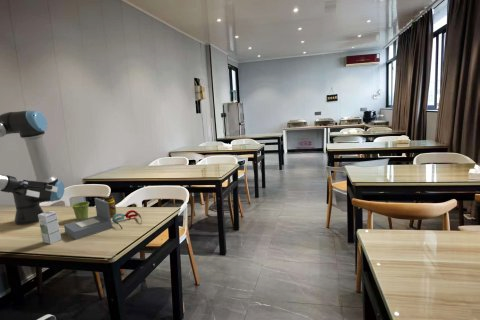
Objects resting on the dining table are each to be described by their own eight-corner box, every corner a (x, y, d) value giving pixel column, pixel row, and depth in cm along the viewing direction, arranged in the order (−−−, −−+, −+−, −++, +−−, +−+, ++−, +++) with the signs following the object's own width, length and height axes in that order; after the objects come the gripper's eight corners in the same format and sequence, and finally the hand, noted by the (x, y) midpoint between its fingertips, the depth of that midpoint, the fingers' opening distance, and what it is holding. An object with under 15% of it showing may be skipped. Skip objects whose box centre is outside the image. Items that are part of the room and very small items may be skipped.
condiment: (118, 216, 181) (115, 196, 179) (103, 220, 176) (100, 200, 174) (115, 213, 187) (113, 194, 185) (100, 217, 182) (97, 197, 180)
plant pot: (94, 216, 184) (92, 202, 183) (80, 221, 176) (78, 207, 174) (84, 214, 188) (82, 201, 187) (70, 220, 180) (67, 205, 179)
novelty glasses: (137, 216, 179) (136, 208, 178) (145, 223, 166) (144, 214, 166) (112, 223, 171) (110, 214, 170) (118, 230, 159) (117, 221, 158)
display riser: (65, 232, 161) (60, 206, 159) (100, 221, 174) (96, 197, 171) (75, 239, 150) (70, 212, 148) (112, 228, 162) (108, 202, 160)
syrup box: (61, 239, 151) (56, 211, 149) (50, 244, 146) (44, 215, 144) (54, 238, 154) (49, 210, 151) (42, 243, 149) (37, 214, 146)
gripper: (-16, 196, 143) (30, 204, 162) (19, 185, 134) (63, 194, 152) (-12, 180, 146) (32, 190, 164) (22, 169, 137) (65, 180, 155)
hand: (47, 192), depth 158 cm, fingers open, 13 cm apart
